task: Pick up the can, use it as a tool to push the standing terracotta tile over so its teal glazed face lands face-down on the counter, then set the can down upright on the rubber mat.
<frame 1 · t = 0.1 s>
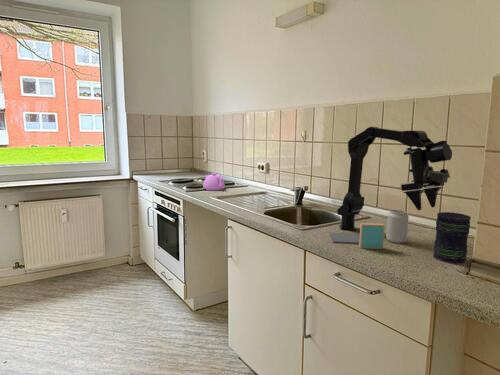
hand: (426, 208, 125), 15 cm above the worktop, tool pointing down, fingers open, 9 cm apart
storage jar: (449, 259, 119), on the worktop
can: (396, 241, 138), on the worktop
tile: (370, 247, 130), on the worktop
teapot: (214, 189, 256), on the worktop
mat: (346, 238, 140), on the worktop
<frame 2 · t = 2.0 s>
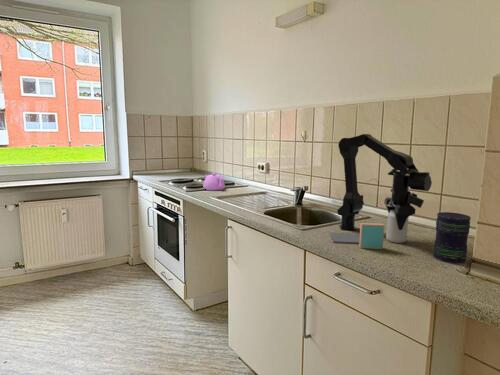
hand: (397, 227, 137), 6 cm above the worktop, tool pointing down, fingers closed on can, 7 cm apart
can: (396, 241, 138), on the worktop, touching gripper
everything else where it was.
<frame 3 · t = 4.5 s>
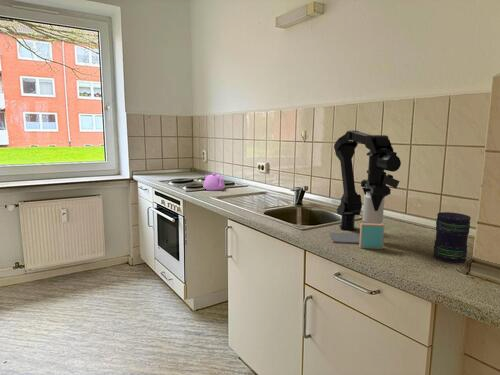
hand: (373, 208, 136), 13 cm above the worktop, tool pointing down, fingers closed on can, 7 cm apart
can: (372, 223, 137), point 7 cm above the worktop, touching gripper
everything else where it was.
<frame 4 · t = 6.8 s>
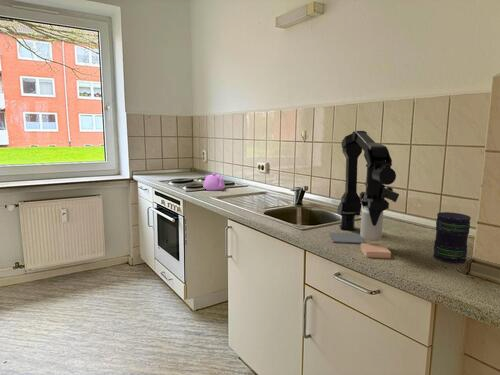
hand: (371, 222, 129), 9 cm above the worktop, tool pointing down, fingers closed on can, 7 cm apart
can: (370, 239, 130), point 3 cm above the worktop, touching gripper
tile: (372, 246, 128), point 1 cm above the worktop, tilted 90°
everything else where it was.
when the fingers open (8 cm above the worktop, at t = 10.9 s): can stays where it is, resting on mat.
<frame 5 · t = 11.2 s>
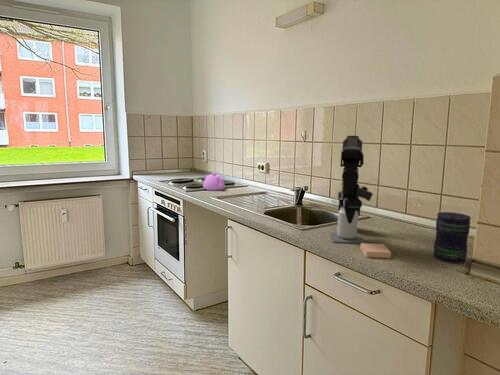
hand: (347, 220, 139), 8 cm above the worktop, tool pointing down, fingers open, 9 cm apart
can: (346, 237, 140), resting on mat
everything else where it was.
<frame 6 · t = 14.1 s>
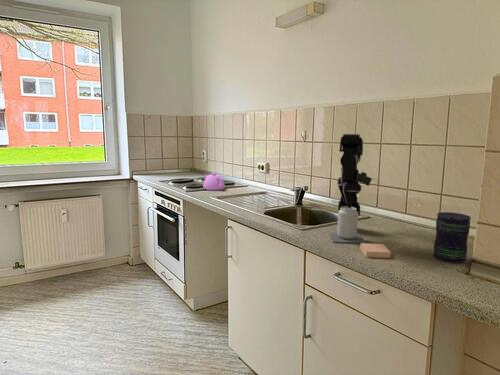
hand: (347, 205, 141), 13 cm above the worktop, tool pointing down, fingers open, 9 cm apart
nothing on the worktop moved.
at the end: tile tilted 90°; can inside the target area on the mat (0.1 cm from its centre), point 0.4 cm above the mat's base; can tilted 0° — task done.
